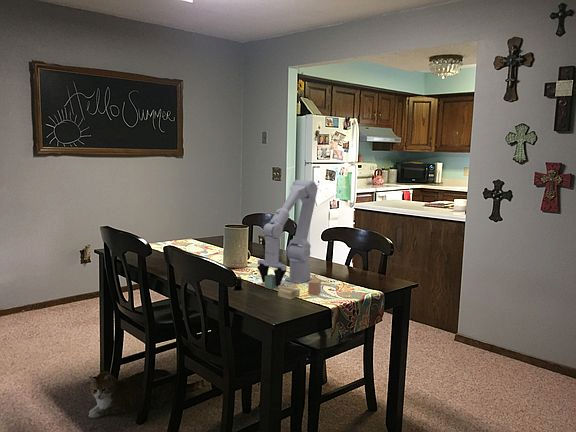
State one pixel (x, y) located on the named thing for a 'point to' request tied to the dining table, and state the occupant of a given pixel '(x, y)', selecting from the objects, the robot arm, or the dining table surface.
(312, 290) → the terracotta block
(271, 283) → the teal block
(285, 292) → the maple block
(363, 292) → the dining table surface
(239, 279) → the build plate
